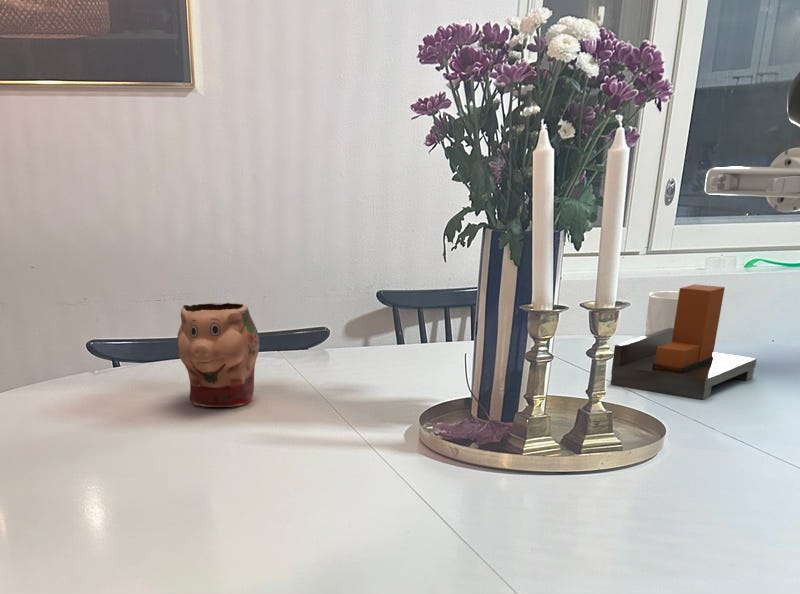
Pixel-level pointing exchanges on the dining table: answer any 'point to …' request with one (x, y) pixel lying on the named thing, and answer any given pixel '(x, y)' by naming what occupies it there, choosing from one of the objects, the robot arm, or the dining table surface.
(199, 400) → the decorative planter
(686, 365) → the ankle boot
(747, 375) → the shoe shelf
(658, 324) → the white cup
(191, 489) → the dining table surface
